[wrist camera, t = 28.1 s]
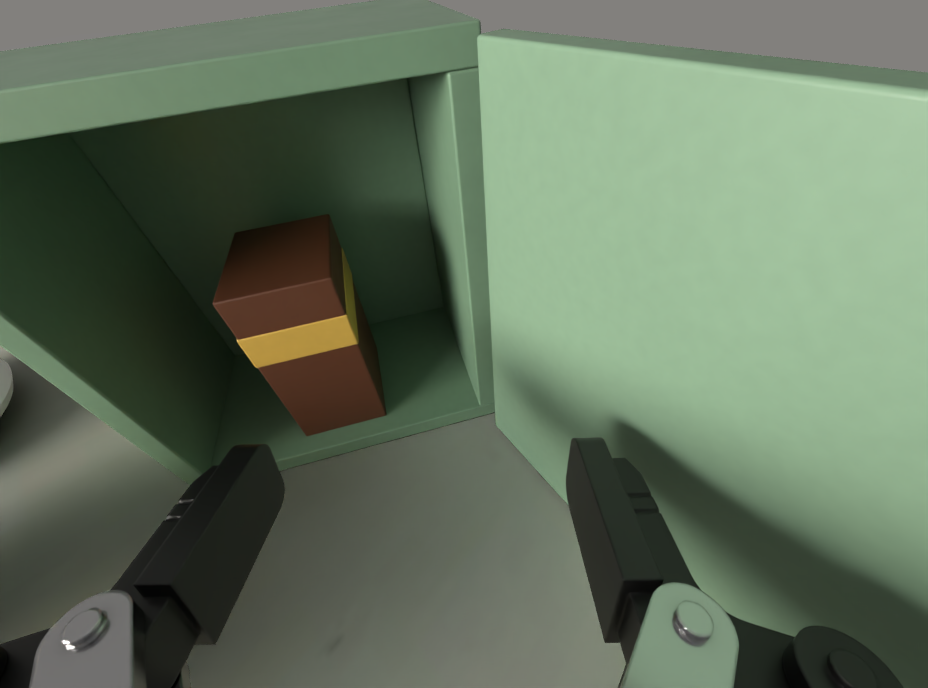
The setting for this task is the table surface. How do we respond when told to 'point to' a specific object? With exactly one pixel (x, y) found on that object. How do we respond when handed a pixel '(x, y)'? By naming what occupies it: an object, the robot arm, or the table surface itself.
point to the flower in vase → (5, 385)
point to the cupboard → (245, 217)
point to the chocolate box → (303, 322)
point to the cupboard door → (724, 311)
